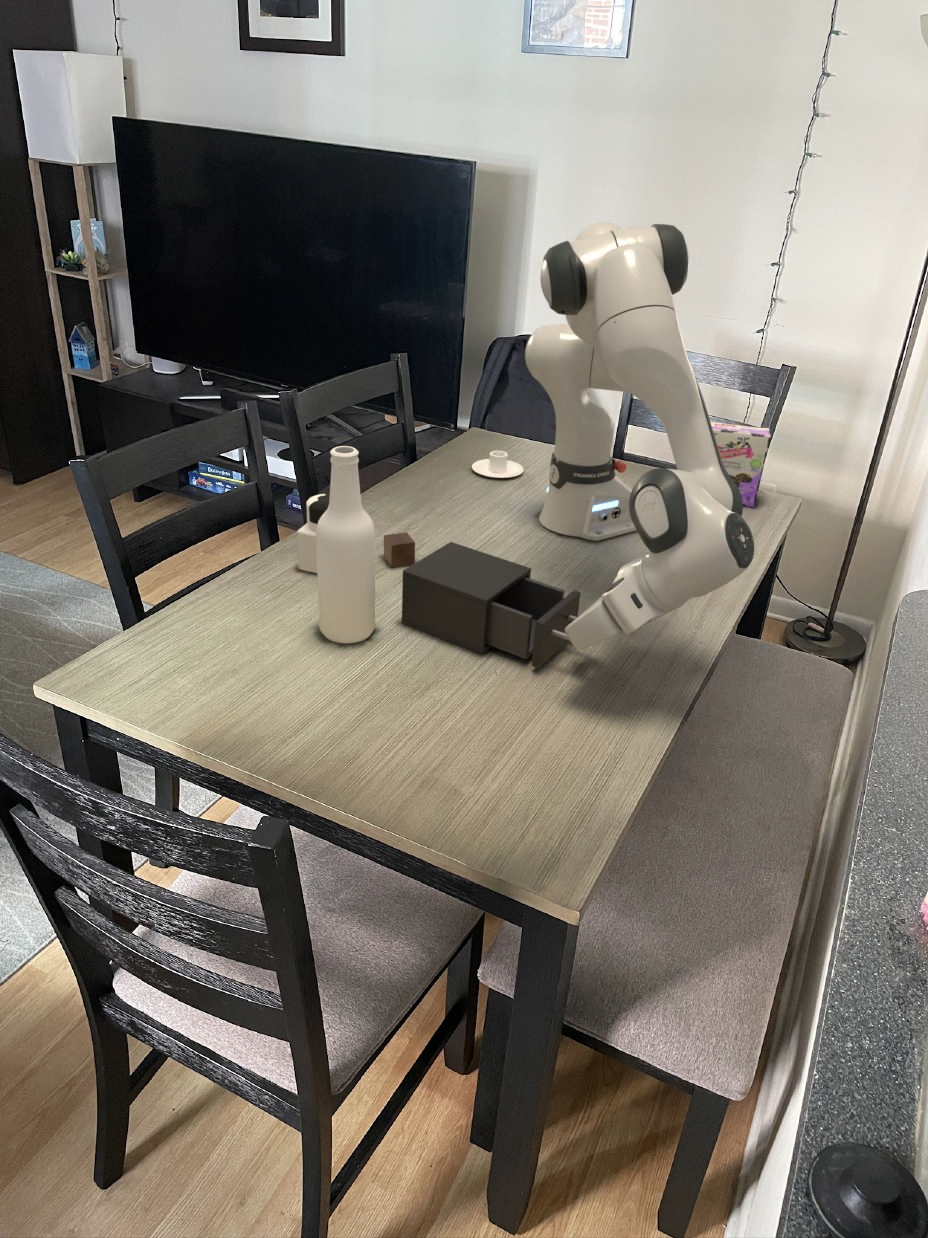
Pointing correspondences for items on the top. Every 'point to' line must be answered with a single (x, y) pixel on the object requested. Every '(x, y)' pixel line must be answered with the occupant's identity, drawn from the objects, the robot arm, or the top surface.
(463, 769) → the top surface
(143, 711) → the top surface
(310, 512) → the container
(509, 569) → the small drawer cabinet
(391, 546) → the block
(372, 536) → the alcohol
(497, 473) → the candle holder
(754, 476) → the candy box
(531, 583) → the pull-out drawer
